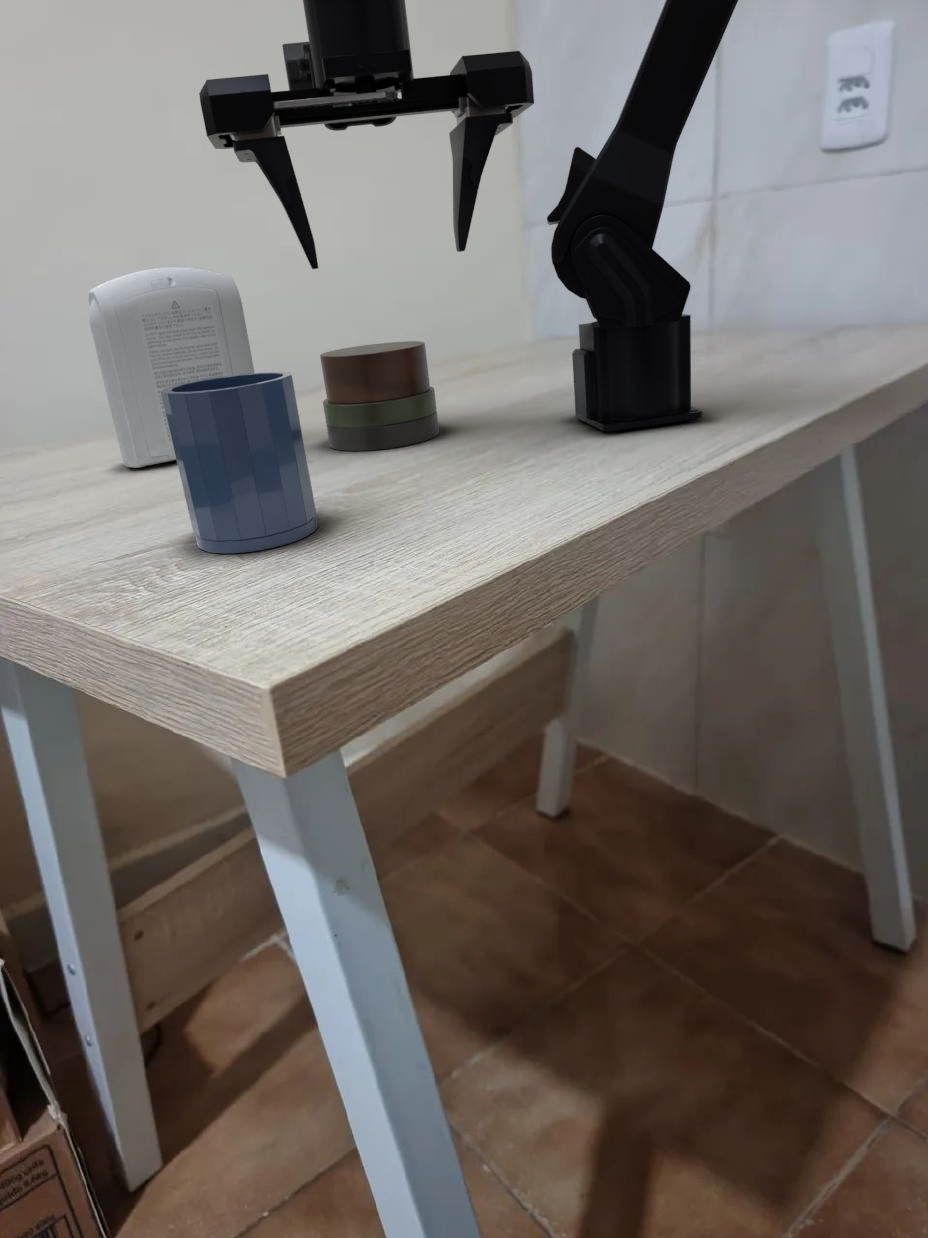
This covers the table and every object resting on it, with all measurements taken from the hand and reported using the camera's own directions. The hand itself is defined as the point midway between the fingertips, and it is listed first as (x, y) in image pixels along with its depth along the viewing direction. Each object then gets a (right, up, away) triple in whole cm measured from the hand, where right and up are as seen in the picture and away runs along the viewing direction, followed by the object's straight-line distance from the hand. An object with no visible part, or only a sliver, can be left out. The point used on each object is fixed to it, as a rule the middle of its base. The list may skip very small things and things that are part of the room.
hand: (388, 259), depth 54 cm
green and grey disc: (-1, -10, +6) cm, 12 cm away
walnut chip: (-1, -7, +5) cm, 9 cm away
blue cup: (-5, -18, -13) cm, 23 cm away
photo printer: (-14, -11, +8) cm, 20 cm away
